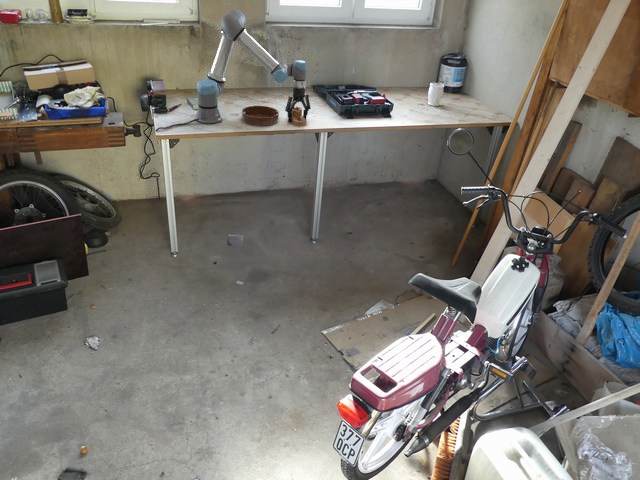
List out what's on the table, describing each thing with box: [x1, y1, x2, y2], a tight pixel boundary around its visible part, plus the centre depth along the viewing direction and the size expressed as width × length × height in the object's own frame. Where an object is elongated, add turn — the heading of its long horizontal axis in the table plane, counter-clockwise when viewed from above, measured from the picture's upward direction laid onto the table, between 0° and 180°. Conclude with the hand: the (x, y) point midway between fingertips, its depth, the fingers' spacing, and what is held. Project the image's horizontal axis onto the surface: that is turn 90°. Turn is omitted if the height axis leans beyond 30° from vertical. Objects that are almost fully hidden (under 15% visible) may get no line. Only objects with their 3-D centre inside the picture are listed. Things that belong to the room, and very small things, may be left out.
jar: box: [427, 82, 445, 107], centre depth 391 cm, size 11×10×15 cm
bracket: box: [291, 106, 307, 127], centre depth 338 cm, size 18×8×7 cm, turn 19°
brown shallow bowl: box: [241, 105, 280, 127], centre depth 335 cm, size 23×23×6 cm
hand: (297, 121), depth 340 cm, fingers open, 10 cm apart
